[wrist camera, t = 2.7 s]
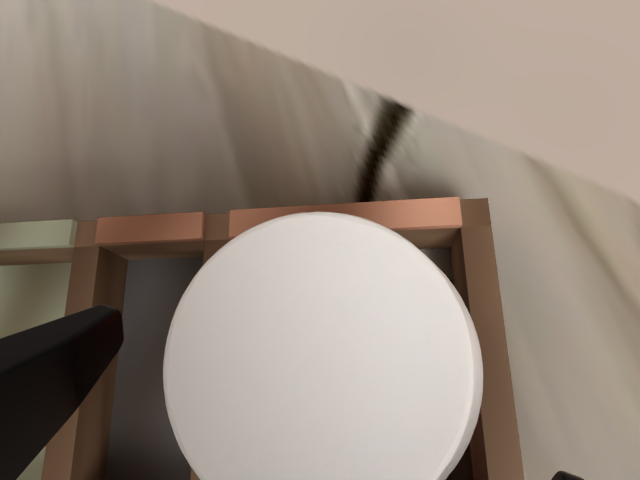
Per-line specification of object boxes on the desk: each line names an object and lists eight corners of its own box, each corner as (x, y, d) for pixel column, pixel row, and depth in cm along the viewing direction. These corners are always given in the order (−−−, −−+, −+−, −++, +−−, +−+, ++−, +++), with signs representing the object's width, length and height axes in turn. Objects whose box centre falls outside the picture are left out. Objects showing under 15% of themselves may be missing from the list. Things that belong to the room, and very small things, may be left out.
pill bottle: (267, 293, 18) (125, 179, 8) (424, 279, 18) (493, 140, 7) (272, 464, 17) (95, 608, 6) (447, 456, 16) (580, 598, 6)
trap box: (473, 221, 18) (489, 194, 16) (511, 540, 15) (539, 575, 12) (-77, 250, 21) (-143, 231, 18) (-143, 528, 18) (-236, 555, 15)
